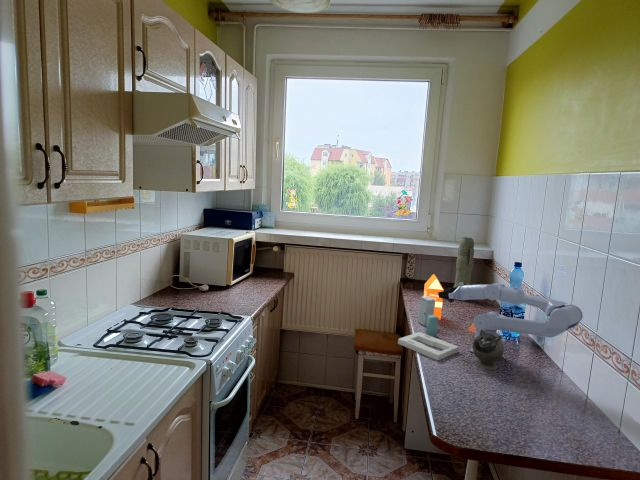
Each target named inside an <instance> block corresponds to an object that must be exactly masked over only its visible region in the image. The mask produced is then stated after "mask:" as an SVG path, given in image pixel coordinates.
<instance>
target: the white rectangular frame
mask: <svg viewBox="0 0 640 480" xmlns="http://www.w3.org/2000/svg"><path fill="white" fill-rule="evenodd" d="M397 344H398V345H400V346H403V347H405V348H407V349H410V350H412V351H414V352H417V353H418V354H421V355H424V356H425V357H428V358H431V359H434V360H436V361H439V360H442V359H445V358H448V357H450V356H452V355H454V354H457V353H458V352H459V351H460V350H459V348H460V346H457V345H455V344H452V343H449V342H447V341H445V340H442V339H439V338H437V337H432V336H429V335H426V333H423V332H421V331H418V332H414V333H412V334H409V335H405V336H403V337H400V338H398V341H397ZM427 345H429V346H427ZM432 347H435V348H437V349H440V351H439V350H437V349H434V348H432Z"/></svg>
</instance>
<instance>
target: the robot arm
mask: <svg viewBox="0 0 640 480" xmlns="http://www.w3.org/2000/svg"><path fill="white" fill-rule="evenodd" d="M453 287H454V286H453ZM453 287H449V288H447V289H446V290H445V289H444V291H441V292H438V296H439V298H443V300H445V301H448V302H450V303H453V302H455V300H456V299H459V300H458V301H460V300H468V301H469V300H471V301H472V300H489V301H496V300H499V301H501V302H504V303H507V304H510V305H516V306H520V305H522V304H524V305H528V306H532V308H533V307H534V308H536V309H541V310H543V311H544V313H545V316H546V317H548V319H547V321H542V320H534V319H528V318H527V319H524V318H520V317H519V318H517V317H509V316H505V315H503V314H499V313H498V312H496V311H489V312H485V313H482V314H480V313H479V314H477V315H476V316H475V315H474V318H473V326H474V327H475V336H474V339H475V338H476V337H477V336H479V335H480V332H481V329H482V330H483V331H484V332H485V333H490V334H493V335H495V336H497V337H498V336H501V337H502V338H501V341H502V343H503V344H504V337H503V335H502V334H499V332H498V331H504V332H505V331H506V332H512V333H517V334H524V335H532V336H538V337H543V338H555V337H557V336H560V335H562V334H564V332H567V331H569V330H571V329H573V328H575V327H577V326H578V325H579V324H580V322H581V321H582V320H583V317H584V315H583V311H582V310H581V308H579V306H578V305H575V304H568V303H567V302H565V301H561V300H556V299H552V298H548V297H547V298H546V297H541V296H537V295H536V296H535V295H531V294H526V293H525V292H524V291H523V289H520V288H519V287H518V286H513V287H511V286H507V285H506V284H505V283H500V282H494V283H491V284H488V283H487V284H483V283H481V284H479V283H478V284H470V285H466V284H465V283H464V284H463V282H461V283H459V286H458V287H454V288H453ZM454 298H455V299H454ZM468 351H469V352H472V353H474V352H473V347H472V348H470V349H469V350H468Z"/></svg>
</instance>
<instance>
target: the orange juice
mask: <svg viewBox="0 0 640 480" xmlns="http://www.w3.org/2000/svg"><path fill="white" fill-rule="evenodd" d="M441 291H445V289H444V288H443V287H442V284H441V283H440V281H439V279H438V278H437V276H436V274H434V273H433V274H432V275H431V276H430V277H429V279H428V280H427V281H426V282H425V283H424V289H423V296H429V297H431V298H433V299H434V300H436V301H435V308H434V316H437V317H439V321H441V318H442V309H443V301H444V299H443V298H439V296H438V292H441Z"/></svg>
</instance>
